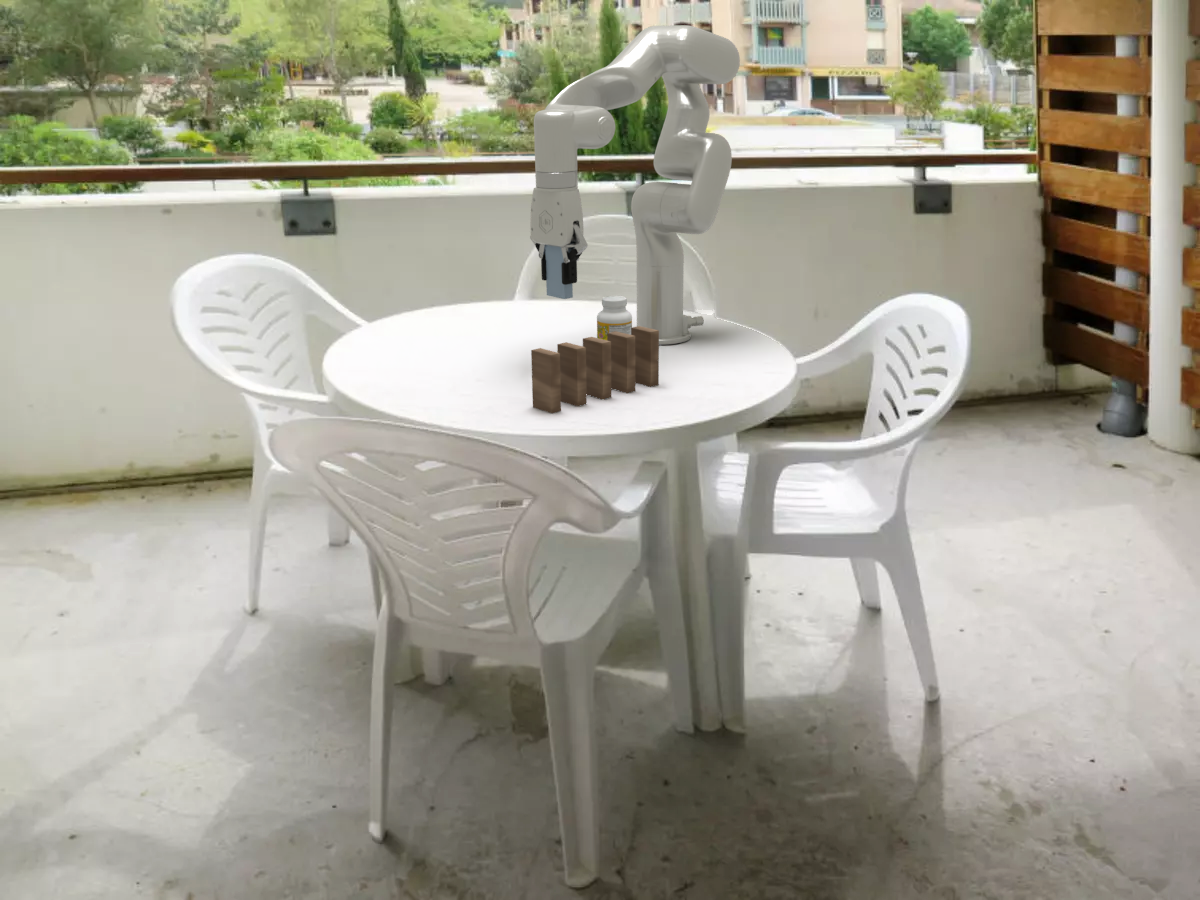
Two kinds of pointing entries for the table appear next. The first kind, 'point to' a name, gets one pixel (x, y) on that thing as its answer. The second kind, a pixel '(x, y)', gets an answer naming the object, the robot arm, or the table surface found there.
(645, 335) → the domino
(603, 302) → the supplement bottle
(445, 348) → the table surface
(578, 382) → the domino
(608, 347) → the domino
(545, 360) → the domino
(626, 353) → the domino
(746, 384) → the table surface
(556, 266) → the domino
